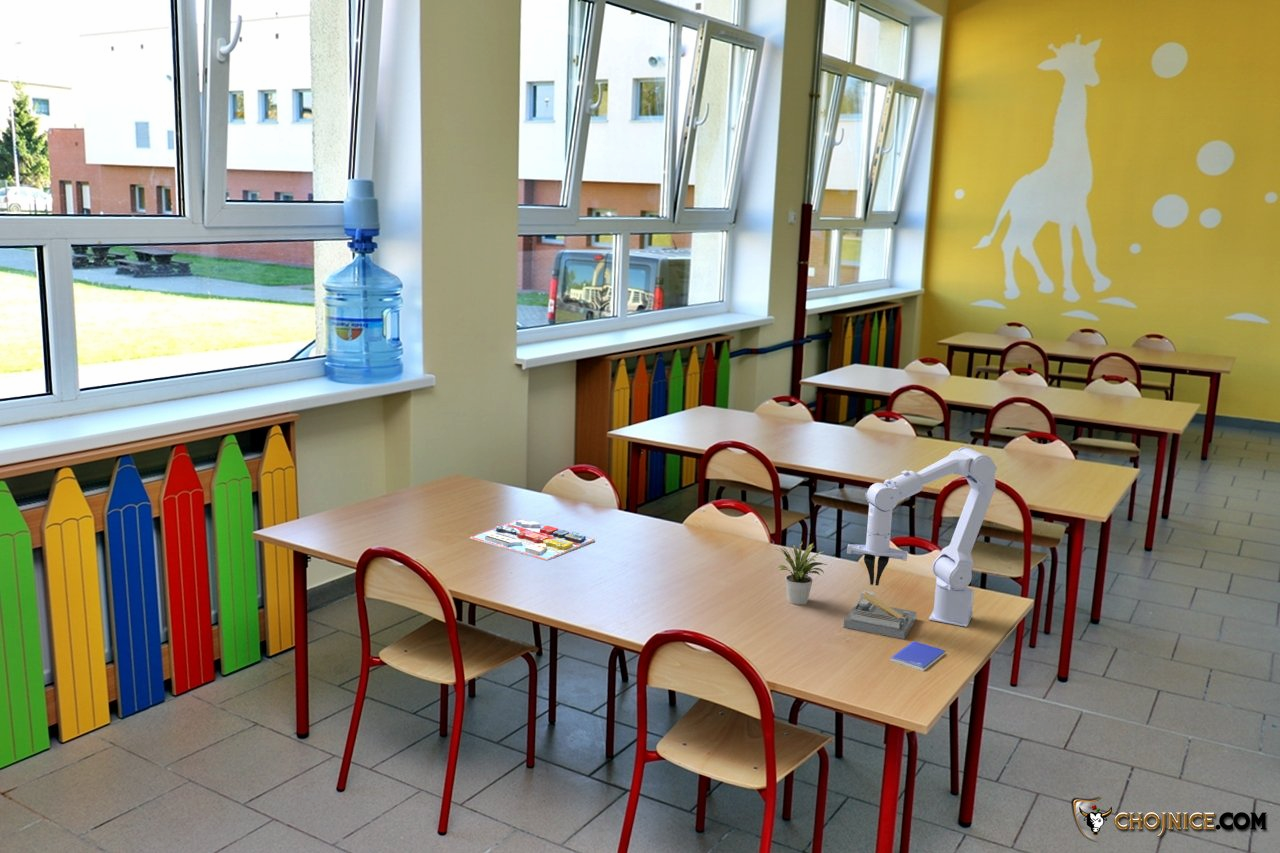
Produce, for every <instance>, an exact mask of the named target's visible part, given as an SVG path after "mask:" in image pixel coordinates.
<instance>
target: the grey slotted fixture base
mask: <svg viewBox="0 0 1280 853" xmlns="http://www.w3.org/2000/svg"><path fill="white" fill-rule="evenodd" d="M860 602H861V597H860V598H859V599H858V601H857V602H856V603H855V604H854V606H853V607H852V609H851V610H850V611H849V613H848V614H847V615H846V616H845V618H844V619H843V628H846V629H850V630H857V631H861V632H866V633H870V634H875V635H880V636H885V637H886V636H887V637H891V638H896V639H901V640H905V638H906V637H907V635H908V634H909V632H910V630H911V629H912V627H913V625H914V623H915V622H916V620H917V616H918V615H917V611H913V610H910V609H909V610H908V609H905V608H904V609H902V608H897V607H893V606H889V607H890V608H892V609H893V610H895V611H896V612H898V613H899V614H901V615H902V616H904V617H900V618H896V617H892V616H890V615H889V614H887V613H885V612H884V611H882V610H881V609H879V608H878V607H876V606H875V605H873V604H872V605H871V607H869V606H867V607H865V606H860V605H859V603H860Z"/></svg>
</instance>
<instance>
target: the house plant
mask: <svg viewBox="0 0 1280 853" xmlns="http://www.w3.org/2000/svg"><path fill="white" fill-rule="evenodd" d="M802 545H803V541H801V542H800V544H799V546H798V547H799V548H798V549H797V547H796V546H795V544H792V546H793V549H792V548H790V547H789V546H788V545H786V547H787V548H788V549H790V550H791V552H792V556H794V557H793V558H794V560H793V558H792V557H791V555H790V553H789V552H788V551H787V549H786V548H785V547H783V546H781V547H782V548H781V547H780V548H779V549H777V548H775V550H777V551H780V552H781V553H782V554H784V556H785V557H786V558H785V561H787V563H788V564H789V565H790V566H791V568H792V570H790V569H789V567H787V566H785V565H782V564H780V565H778V567H777V570H778V571H789V573H790V574H787V575H786V576H785V587H786V596H787V602H788V603H791V604H793V605H798V606H799V605H806V604H807V603H808V601H809V597H810V596H809V595H810V593H811V588H812V583H813V581H814V580H813V578H812V577H811V576H809V574H817V575H819V576H821V574H820V572H821V573H823V574H824V573H825V572H824V570H823V569H821V568H819V567H816V566H819V565H825V566H828V564H826V563H823V562H818V561H817V562H815V561H816V559H820V557H818V555H819V554H821V553H824V552H826V550H825V551H820V552H817V553H816V554H815V555H813V556H812V557H811V558H808V557H809V555H810V554H811V551H812V549H813V548H815V545H814V542H813V543H811V544H810V543H809V545H808V546H807V547H806V549H805V550H804V552H803V553H802ZM812 561H813V562H812ZM794 562H795V563H794Z"/></svg>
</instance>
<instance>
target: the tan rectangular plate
mask: <svg viewBox="0 0 1280 853" xmlns="http://www.w3.org/2000/svg"><path fill="white" fill-rule="evenodd" d="M862 597H863V598H864V599H866V600H867V601H869V602H870V603H872V604H873V605H875V606H876V607H878V608H879V609H881V610H882V611H884V612H885V613H887V614H889V615H890V616H892V617H896V618H900V617H904V616H902V615H901V614H899V613H898V612H896V611H895V610H893V609H892V608H890V607H891V606H888V605H887V604H886V603H884V602H882V601H881V600H879V599H878V598H877V597H875V596H874V597H873V596H872V595H870V594H869V593H867V592H865V594H864V595H863V596H862Z"/></svg>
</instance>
